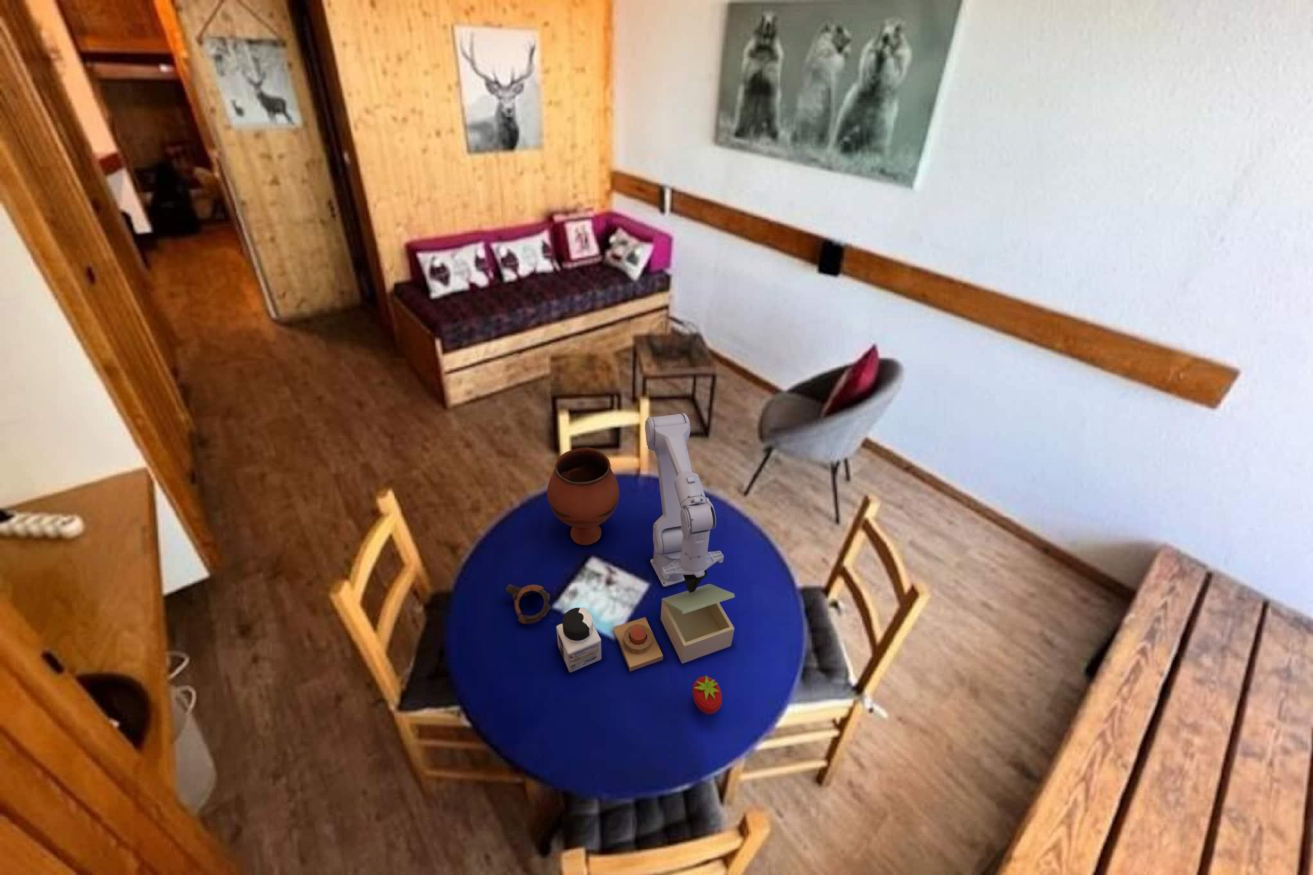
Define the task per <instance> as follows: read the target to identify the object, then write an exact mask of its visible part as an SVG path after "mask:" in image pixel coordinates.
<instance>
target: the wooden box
mask: <svg viewBox="0 0 1313 875" xmlns="http://www.w3.org/2000/svg"><path fill="white" fill-rule="evenodd" d="M660 621H661V623H662V625H663V627H664V630H665V631H666V633H667V636H668V638H669V640H670V642H671V644H672V646H673V648H674V650H675V652H676V654H677V656H678V658H679V660H680V663H681V664H685V663H688V662H691V661H693V660H696V659H698V658H702V657H704V656H706V655H711V654H712V653H715V652H718V651H721V650H724V649H727V648H729V647H731V646H732V642H733V639H734V633H735V626H734V625H733V624H732V622H731V620H730V618H729V617H728V615H727V613H726V612H725V610H724V608H723V607H722V604H721V602H719V603H716V604H713V605H710V606H707V607H704V608H700V609H697V610H694V611H691V612H688V613H685V614H682V613H680V612H678V611H677V610H675V609H673V608H672V607H670V606H668V605H667V604H665V603H663V602H662V601H661V610H660Z"/></svg>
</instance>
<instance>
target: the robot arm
mask: <svg viewBox="0 0 1313 875" xmlns="http://www.w3.org/2000/svg"><path fill="white" fill-rule="evenodd" d="M644 432H645V440H646V441H645V442H646V446H647V449H648V450H650V451H652V452H653V451H654V454H655V457H656V458H655V459H656V464H657V466H656V467H657V475H658V483H659V492H660V502H661V510H662V515H661V516H660V517H658V519H657V520H656V521H655V522H653V526H652V532H653V534H652V541H653V557H652V558H651V559H650V561H649V562H650V565H651V566H652V569H653V570H654V572H655V574H656V576H657V578H658V579H659V581H660V582H659V583H661V586H662V587H663V588H666V587H670V586H673V585H676V584H679V583H683V582H685V587H686V590H687V591H689V593H691V592H694V591H695V590H696V588H697V587H699V584H700V583H701V582H702V580H703V579H705V578H707V575H708V569H709V568H710V567H712V566H713V565H715V564H716V563H717V562H718V564H722V563H724V558H725V557H724V554H723V553H722V551H721V550H716V551H708V550H709V542H710V536H711V530H713V529H716V526H717V517H716V511H715V508H714V505H713V503H712V502H711V501H710V499H709V497H706V494H705V491H704V488H703V484H702V482H701V479H700V475H698V474H697V473H695V472H693V470H692V465H691V459H690V456H689V450H688V446H687V445H688V443H689V440H690V435H691V422H690V419H689V416H688V415H687V414H686V413H684V412H681V413H678V414H677V413H676V414H669V415H668V414H667V415H661V416H660V415H659V416H652V417H651V416H648V417H647V418H646V419H645V422H644Z"/></svg>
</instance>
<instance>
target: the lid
mask: <svg viewBox="0 0 1313 875" xmlns="http://www.w3.org/2000/svg"><path fill="white" fill-rule="evenodd" d="M735 595H736V594H735V593H733V592H731V591H729V590H726V589H723V588H721V587H718V586H717V585H714V584H711V583H708V584H704V585H701V586H697V588H696V590H695V591H694V592H691V593H689V591H688V590H685V591H682V592H679V593H675V594H672V595H669V596H666V597H663V598H661V603H662V602H663V603H665V604H667V605H668V606H670V607H672V608H673V609H675V610H677V611H678V612H680V613H682V614H685V613H688V612H691V611H694V610H697V609H700V608H704V607H707V606H710V605H713V604H716V603H721V602H724V601H725V602H726V601H728V600H730V599H733V598H735V597H736V596H735Z"/></svg>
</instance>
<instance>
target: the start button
mask: <svg viewBox="0 0 1313 875" xmlns="http://www.w3.org/2000/svg"><path fill="white" fill-rule="evenodd" d="M645 639H646V631H645V629H644V628H643V627H640V626H636V627H634V628H632V629H631V631H630V640H631V641H632V642H633V643H634V644H642V643H643V642H644V641H645Z"/></svg>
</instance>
